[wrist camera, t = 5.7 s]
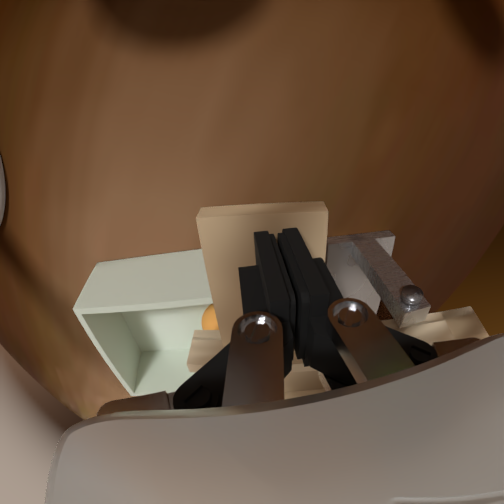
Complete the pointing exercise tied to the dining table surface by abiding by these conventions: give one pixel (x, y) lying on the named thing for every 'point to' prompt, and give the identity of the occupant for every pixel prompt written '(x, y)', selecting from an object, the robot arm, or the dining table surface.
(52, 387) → the dining table surface
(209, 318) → the ball
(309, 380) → the lever
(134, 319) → the pale green open box
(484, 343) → the robot arm
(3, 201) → the candlestick
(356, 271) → the lever stand
